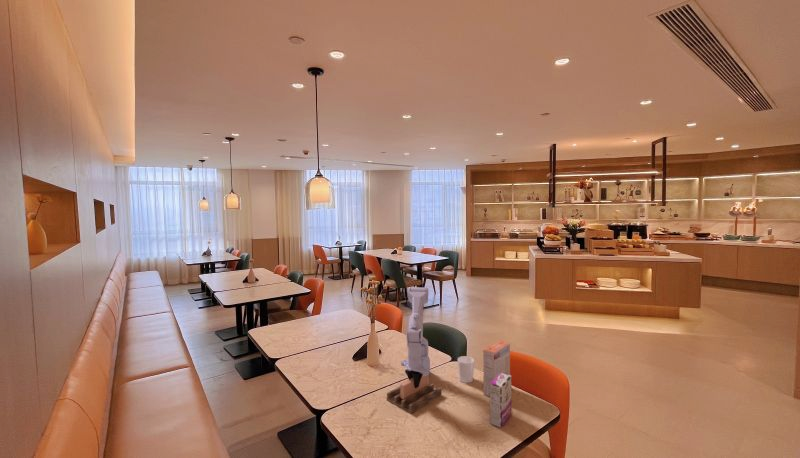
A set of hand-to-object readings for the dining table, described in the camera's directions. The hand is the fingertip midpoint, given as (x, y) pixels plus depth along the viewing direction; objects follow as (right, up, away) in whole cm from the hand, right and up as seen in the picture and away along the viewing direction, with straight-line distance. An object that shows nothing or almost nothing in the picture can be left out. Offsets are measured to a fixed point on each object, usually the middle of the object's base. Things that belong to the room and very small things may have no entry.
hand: (414, 386), depth 155 cm
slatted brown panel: (0, -5, 0) cm, 5 cm away
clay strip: (0, -3, 0) cm, 3 cm away
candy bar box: (+33, -6, -16) cm, 37 cm away
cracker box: (+37, -5, +5) cm, 38 cm away
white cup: (+25, -4, +16) cm, 30 cm away
